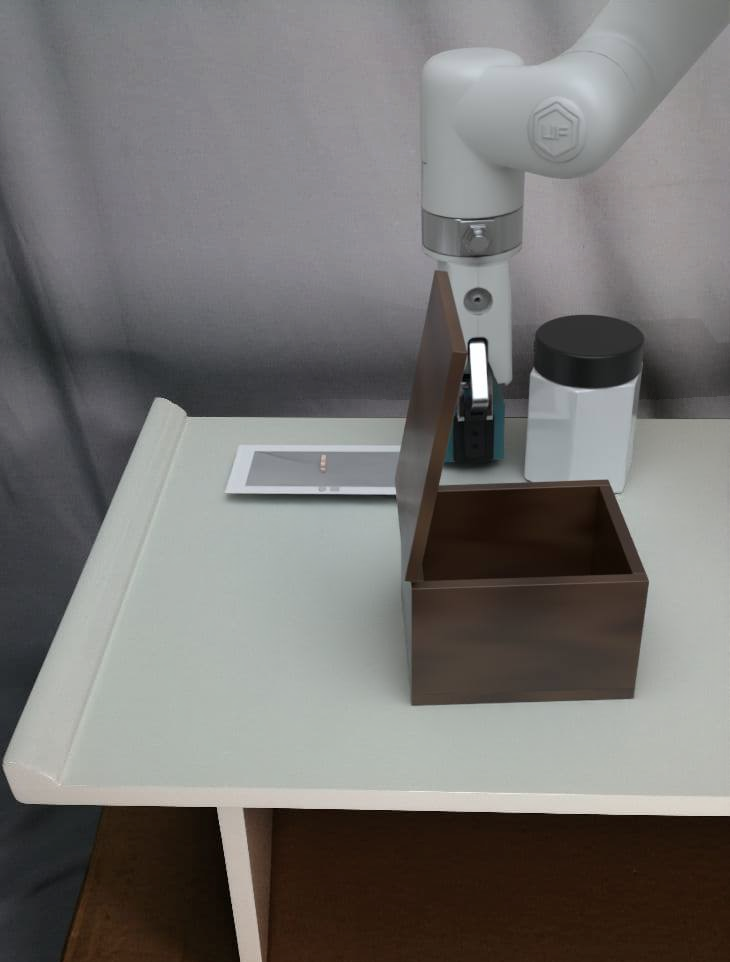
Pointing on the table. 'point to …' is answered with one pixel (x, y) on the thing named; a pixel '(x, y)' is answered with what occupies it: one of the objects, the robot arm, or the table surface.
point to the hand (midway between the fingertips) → (469, 441)
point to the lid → (429, 422)
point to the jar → (583, 400)
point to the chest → (525, 596)
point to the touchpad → (314, 469)
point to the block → (498, 424)
